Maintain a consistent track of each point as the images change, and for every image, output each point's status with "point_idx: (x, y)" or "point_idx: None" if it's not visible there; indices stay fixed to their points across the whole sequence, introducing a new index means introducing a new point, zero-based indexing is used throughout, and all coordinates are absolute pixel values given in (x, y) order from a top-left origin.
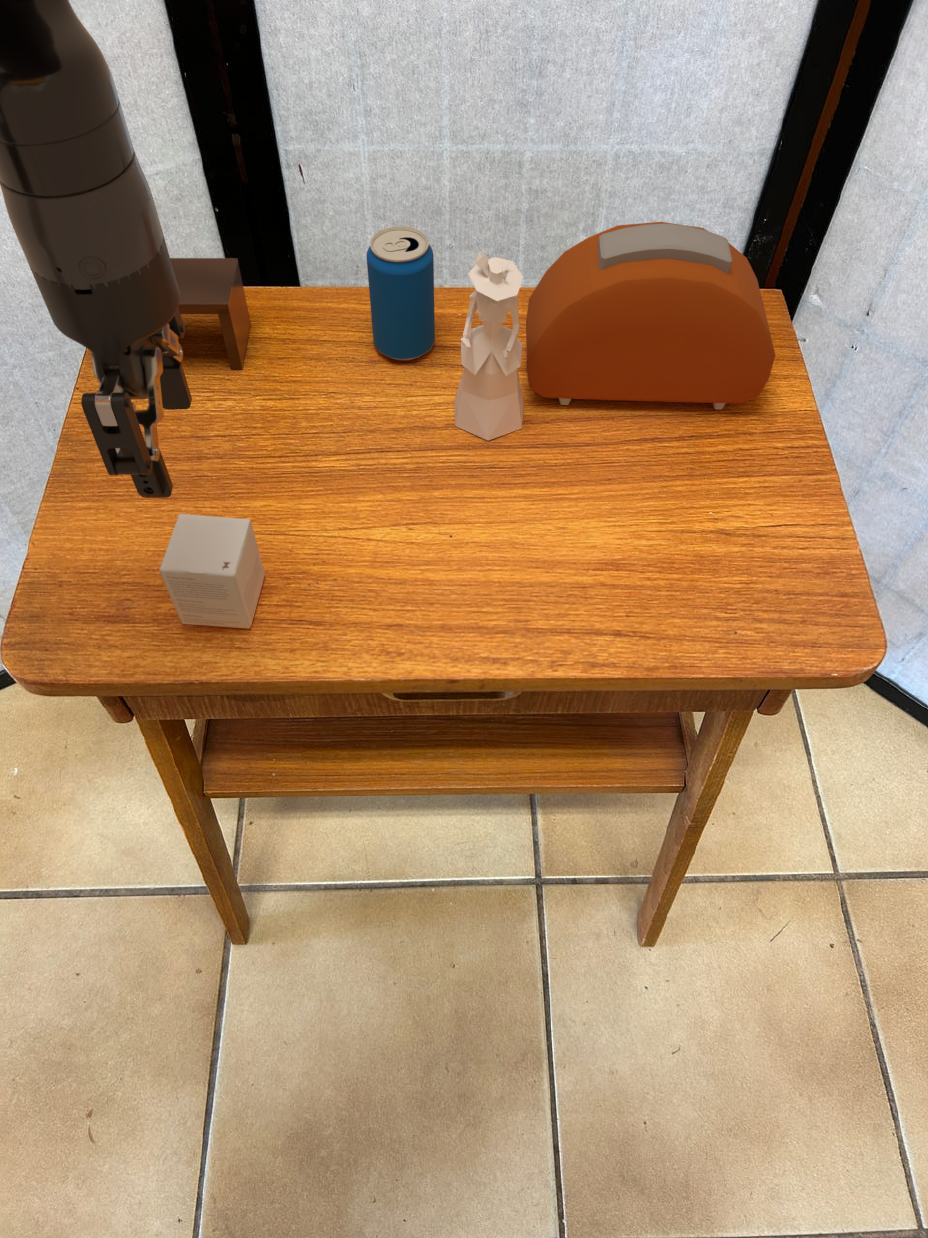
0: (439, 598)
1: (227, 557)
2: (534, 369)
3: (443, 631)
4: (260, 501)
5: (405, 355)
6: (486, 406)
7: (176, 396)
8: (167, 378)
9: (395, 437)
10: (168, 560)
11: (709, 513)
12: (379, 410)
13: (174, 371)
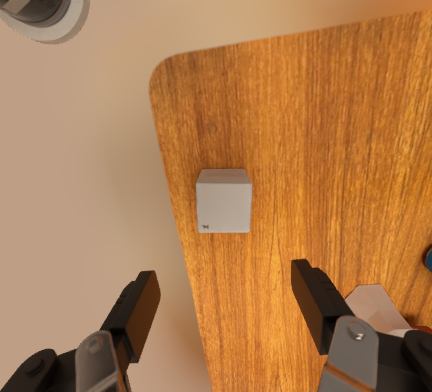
0: (233, 287)
1: (212, 226)
2: None
3: (214, 290)
4: (302, 192)
5: (428, 261)
6: (363, 316)
7: (298, 292)
8: (312, 317)
9: (352, 257)
10: (205, 187)
11: (288, 373)
12: (379, 246)
13: (318, 342)
